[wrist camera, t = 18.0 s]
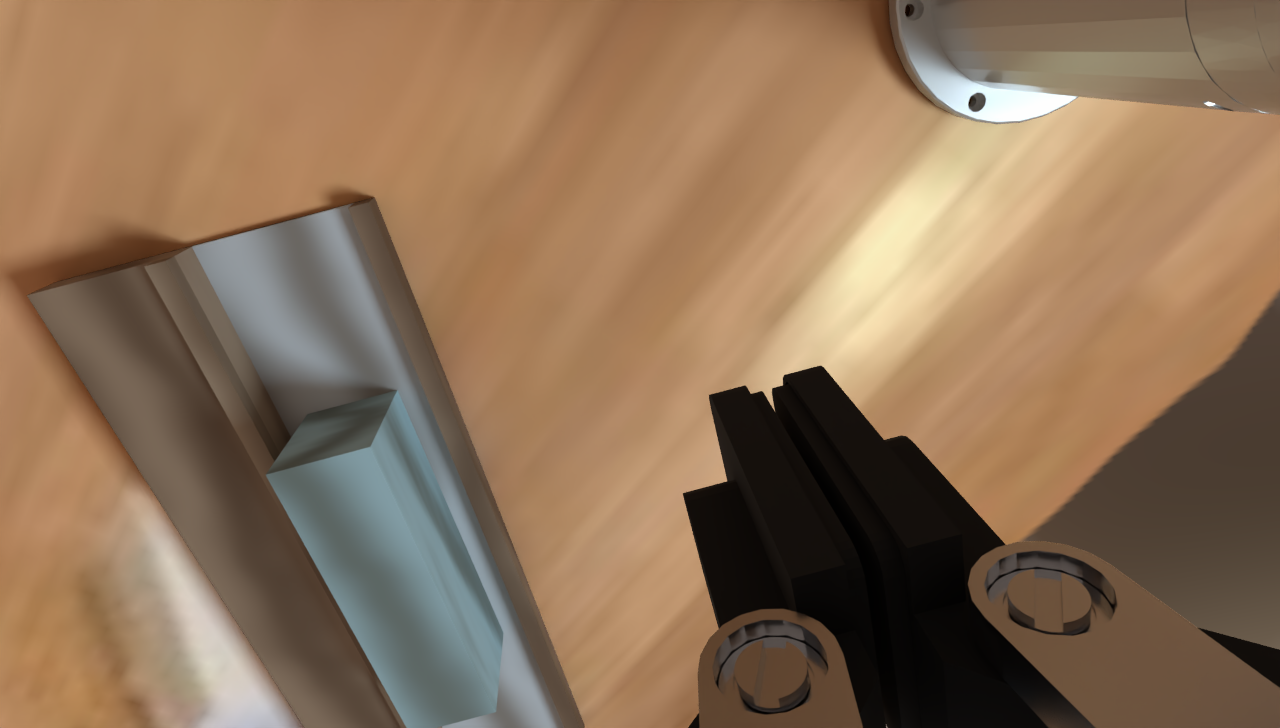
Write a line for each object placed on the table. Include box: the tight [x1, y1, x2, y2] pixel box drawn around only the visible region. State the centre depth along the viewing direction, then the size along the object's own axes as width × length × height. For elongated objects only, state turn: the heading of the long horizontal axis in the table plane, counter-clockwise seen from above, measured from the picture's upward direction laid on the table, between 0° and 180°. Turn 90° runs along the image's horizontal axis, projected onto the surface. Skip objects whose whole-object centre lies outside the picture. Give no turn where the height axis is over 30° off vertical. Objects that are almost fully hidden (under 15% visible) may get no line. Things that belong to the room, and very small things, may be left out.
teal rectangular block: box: [266, 390, 504, 728], centre depth 39 cm, size 5×18×6 cm, turn 14°
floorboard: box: [27, 197, 585, 728], centre depth 41 cm, size 16×38×3 cm, turn 14°
